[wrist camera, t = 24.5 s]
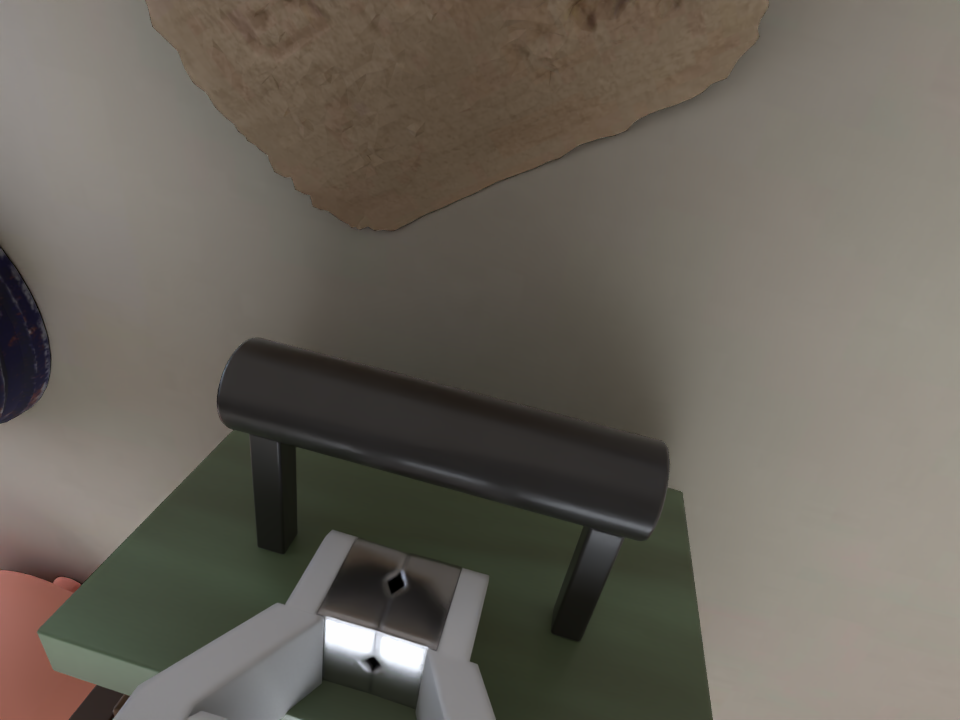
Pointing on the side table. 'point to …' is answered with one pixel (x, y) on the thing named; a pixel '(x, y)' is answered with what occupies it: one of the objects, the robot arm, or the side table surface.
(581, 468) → the drawer
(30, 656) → the sugar bowl
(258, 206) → the side table surface
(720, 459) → the side table surface
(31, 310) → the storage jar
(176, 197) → the side table surface
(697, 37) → the clay tablet
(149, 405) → the side table surface
